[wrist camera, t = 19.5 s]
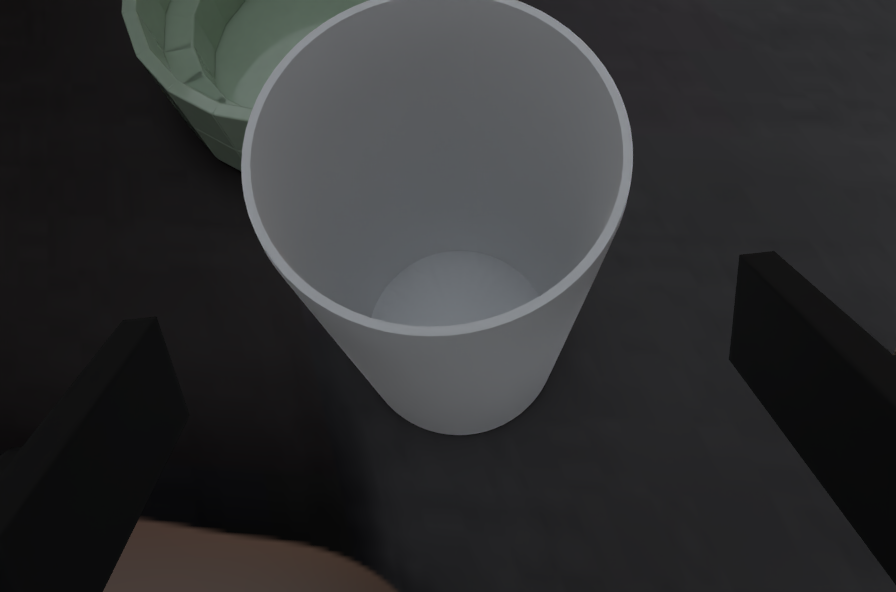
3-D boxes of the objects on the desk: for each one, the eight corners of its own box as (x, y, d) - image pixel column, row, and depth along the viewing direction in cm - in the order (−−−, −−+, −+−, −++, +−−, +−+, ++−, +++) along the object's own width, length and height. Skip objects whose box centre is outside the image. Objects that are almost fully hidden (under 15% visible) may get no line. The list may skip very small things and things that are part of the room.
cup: (341, 412, 29) (184, 292, 14) (389, 233, 31) (301, -39, 16) (536, 455, 28) (602, 378, 13) (570, 267, 30) (659, 14, 15)
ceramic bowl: (124, 111, 34) (52, 29, 28) (288, -89, 37) (253, -199, 32) (367, 244, 31) (341, 183, 25) (520, 14, 34) (527, -86, 29)
